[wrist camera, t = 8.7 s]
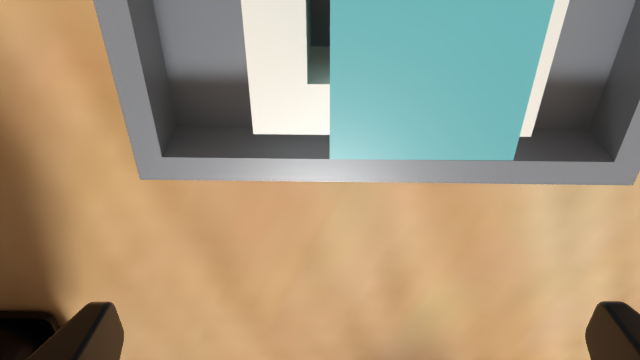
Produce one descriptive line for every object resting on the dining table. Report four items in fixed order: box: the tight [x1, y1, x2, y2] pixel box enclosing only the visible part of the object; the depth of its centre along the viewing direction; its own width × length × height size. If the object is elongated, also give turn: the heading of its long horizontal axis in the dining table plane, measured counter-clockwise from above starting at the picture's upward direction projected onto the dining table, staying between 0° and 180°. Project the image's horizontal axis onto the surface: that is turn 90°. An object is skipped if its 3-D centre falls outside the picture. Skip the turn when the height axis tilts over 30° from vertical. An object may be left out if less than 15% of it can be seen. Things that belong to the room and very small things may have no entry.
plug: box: [330, 0, 555, 160], centre depth 13 cm, size 4×4×8 cm
